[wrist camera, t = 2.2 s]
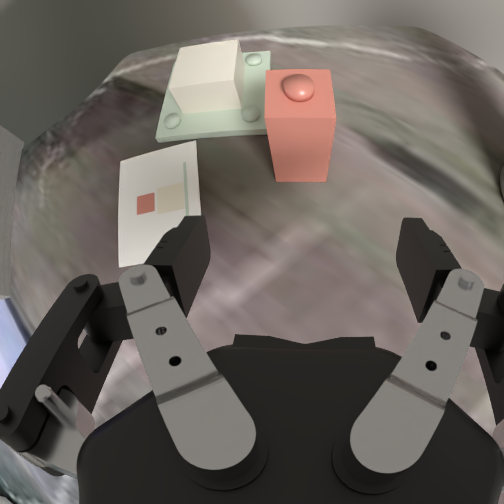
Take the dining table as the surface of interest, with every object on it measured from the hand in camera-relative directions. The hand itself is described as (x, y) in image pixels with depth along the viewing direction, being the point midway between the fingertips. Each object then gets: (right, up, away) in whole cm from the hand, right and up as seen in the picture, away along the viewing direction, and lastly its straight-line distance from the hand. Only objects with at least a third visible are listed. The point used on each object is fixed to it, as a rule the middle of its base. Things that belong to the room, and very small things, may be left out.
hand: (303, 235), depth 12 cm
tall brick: (+3, +8, +16) cm, 18 cm away
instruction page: (-11, +4, +18) cm, 21 cm away
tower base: (-6, +17, +19) cm, 26 cm away
